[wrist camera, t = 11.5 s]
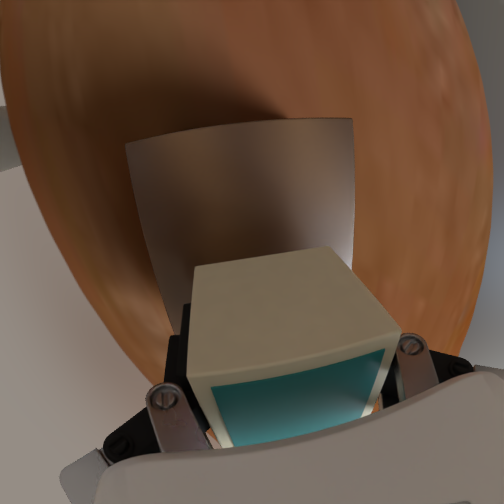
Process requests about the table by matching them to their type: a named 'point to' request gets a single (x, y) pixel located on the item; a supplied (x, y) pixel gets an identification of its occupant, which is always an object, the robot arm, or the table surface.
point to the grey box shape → (242, 195)
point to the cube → (285, 345)
